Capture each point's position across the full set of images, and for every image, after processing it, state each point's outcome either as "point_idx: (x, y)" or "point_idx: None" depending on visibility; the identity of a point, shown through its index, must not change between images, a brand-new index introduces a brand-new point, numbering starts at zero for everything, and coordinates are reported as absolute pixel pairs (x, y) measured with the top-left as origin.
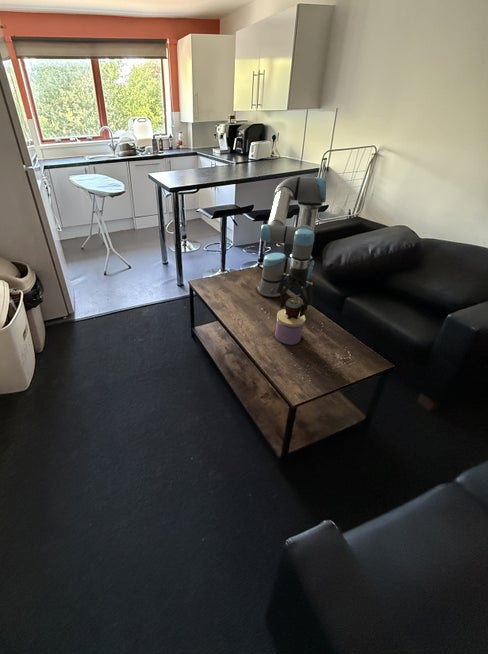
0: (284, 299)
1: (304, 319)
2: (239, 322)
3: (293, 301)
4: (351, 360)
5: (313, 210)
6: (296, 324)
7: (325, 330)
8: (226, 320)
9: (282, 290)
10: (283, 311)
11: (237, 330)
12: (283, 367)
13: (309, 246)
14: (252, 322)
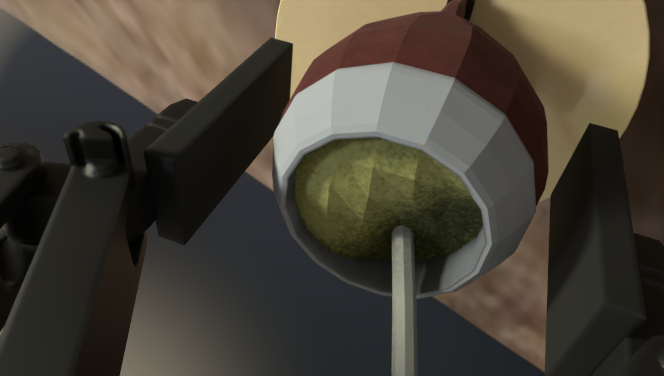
0: (223, 160)
1: (633, 69)
2: (119, 13)
3: (371, 201)
4: None
5: None
6: (540, 201)
7: None
8: (62, 37)
9: (49, 203)
10: (318, 22)
11: (172, 98)
12: (532, 278)
13: None
14: None
